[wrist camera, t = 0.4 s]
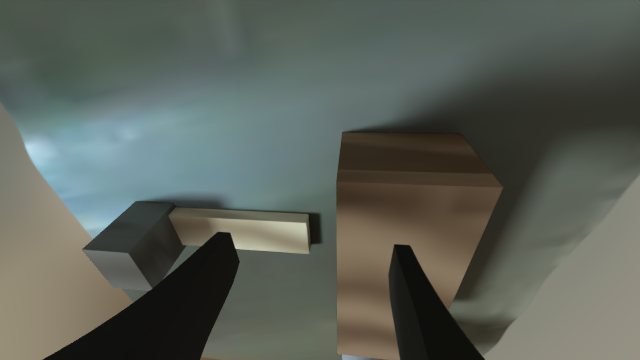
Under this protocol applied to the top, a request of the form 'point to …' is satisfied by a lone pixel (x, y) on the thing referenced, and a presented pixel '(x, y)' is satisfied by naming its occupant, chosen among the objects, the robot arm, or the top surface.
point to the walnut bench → (403, 225)
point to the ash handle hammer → (185, 238)
